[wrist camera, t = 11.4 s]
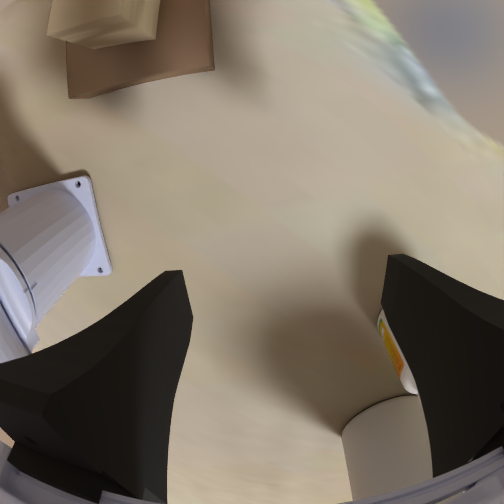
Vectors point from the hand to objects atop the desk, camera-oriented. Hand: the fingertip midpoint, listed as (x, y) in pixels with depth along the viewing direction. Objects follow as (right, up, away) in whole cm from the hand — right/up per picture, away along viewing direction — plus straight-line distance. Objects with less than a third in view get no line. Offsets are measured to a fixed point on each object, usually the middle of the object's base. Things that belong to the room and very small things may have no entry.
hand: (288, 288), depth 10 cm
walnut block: (-8, +16, +4) cm, 19 cm away
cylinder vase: (+16, -21, +22) cm, 35 cm away
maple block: (-8, +15, +2) cm, 17 cm away
